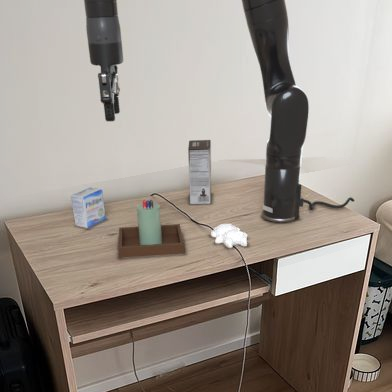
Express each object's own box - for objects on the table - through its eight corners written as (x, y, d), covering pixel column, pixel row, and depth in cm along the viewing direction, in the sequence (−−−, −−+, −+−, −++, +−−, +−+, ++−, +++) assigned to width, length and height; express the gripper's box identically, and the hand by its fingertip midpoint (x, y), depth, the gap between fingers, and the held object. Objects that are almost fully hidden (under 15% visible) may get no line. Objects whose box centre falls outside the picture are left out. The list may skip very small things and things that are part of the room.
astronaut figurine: (218, 250, 133) (218, 238, 131) (207, 231, 142) (207, 220, 140) (253, 246, 134) (253, 235, 132) (240, 228, 144) (240, 217, 142)
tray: (180, 234, 141) (179, 223, 140) (184, 254, 131) (183, 243, 129) (120, 237, 140) (119, 227, 139) (119, 258, 130) (118, 247, 128)
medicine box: (87, 229, 145) (82, 197, 141) (75, 226, 147) (70, 194, 143) (106, 219, 151) (102, 188, 146) (94, 216, 153) (90, 186, 148)
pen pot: (161, 239, 138) (158, 194, 131) (162, 248, 133) (159, 202, 127) (139, 240, 138) (135, 195, 131) (140, 250, 133) (136, 203, 126)
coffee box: (190, 194, 167) (188, 139, 158) (211, 193, 167) (210, 139, 157) (189, 204, 159) (187, 148, 150) (211, 204, 159) (211, 147, 150)
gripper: (117, 43, 115) (125, 123, 125) (125, 36, 127) (131, 110, 136) (82, 44, 116) (92, 124, 125) (93, 37, 127) (102, 111, 136)
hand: (113, 117), depth 131 cm, fingers open, 8 cm apart
